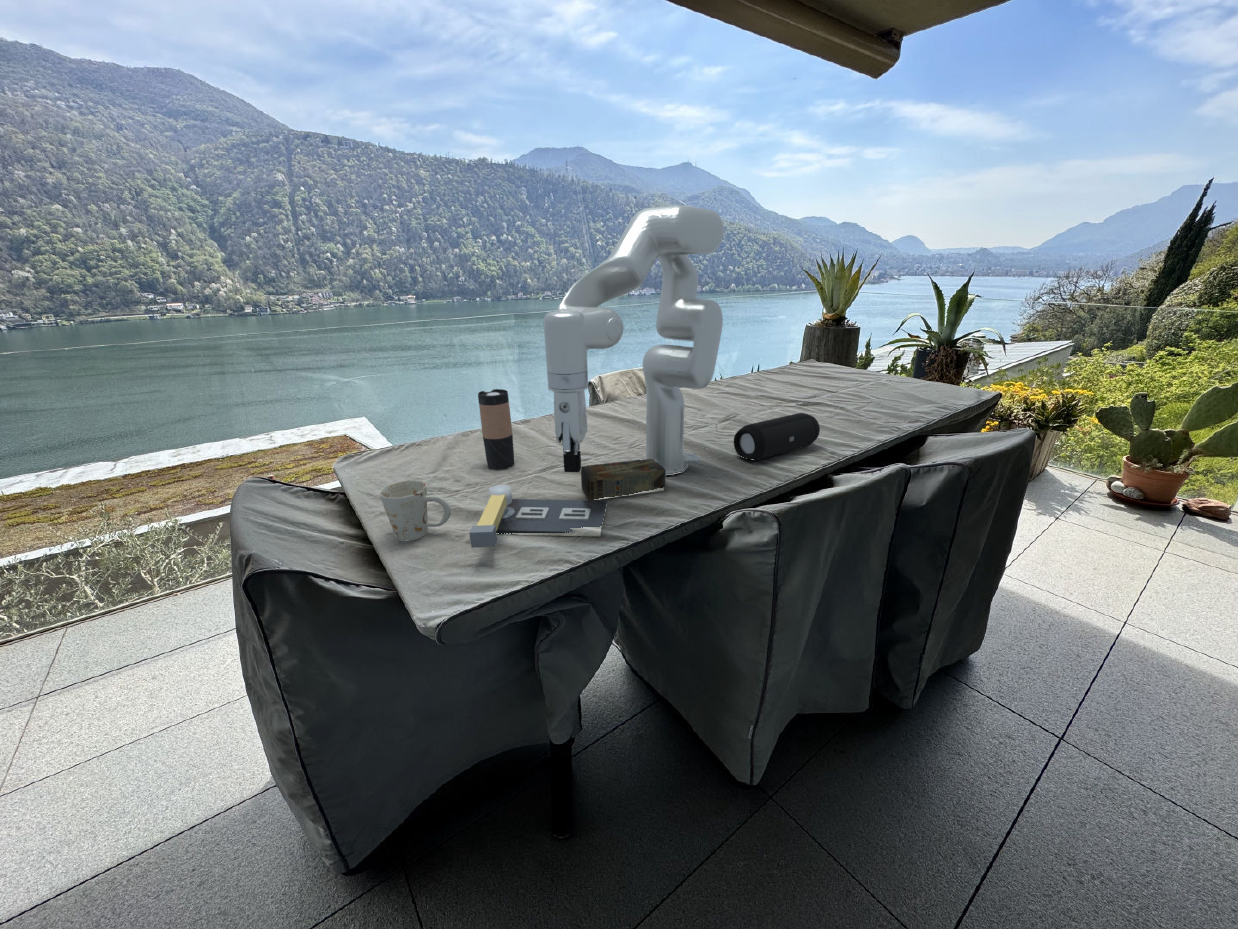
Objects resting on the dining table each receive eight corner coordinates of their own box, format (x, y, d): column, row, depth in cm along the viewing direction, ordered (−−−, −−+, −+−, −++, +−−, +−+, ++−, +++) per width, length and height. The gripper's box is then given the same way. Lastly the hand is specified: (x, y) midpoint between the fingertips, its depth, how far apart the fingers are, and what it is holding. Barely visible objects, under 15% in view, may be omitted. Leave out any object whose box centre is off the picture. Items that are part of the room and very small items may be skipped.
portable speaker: (756, 467, 126) (759, 431, 122) (729, 456, 133) (732, 422, 130) (819, 449, 138) (824, 415, 134) (792, 439, 146) (796, 408, 142)
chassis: (607, 504, 106) (606, 490, 105) (600, 537, 93) (599, 521, 92) (501, 502, 108) (499, 488, 107) (480, 534, 95) (478, 518, 94)
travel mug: (508, 471, 125) (500, 396, 118) (481, 469, 127) (471, 395, 119) (519, 460, 132) (512, 389, 125) (494, 458, 134) (485, 388, 126)
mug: (397, 524, 99) (388, 480, 95) (459, 521, 100) (452, 477, 96) (382, 545, 92) (372, 498, 88) (449, 542, 92) (441, 495, 89)
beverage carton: (666, 492, 112) (667, 466, 110) (587, 504, 107) (586, 477, 105) (654, 479, 120) (655, 454, 117) (579, 489, 115) (578, 464, 112)
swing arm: (495, 546, 84) (493, 531, 83) (470, 547, 84) (468, 532, 83) (513, 497, 102) (512, 484, 101) (493, 498, 102) (491, 484, 101)
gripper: (582, 389, 82) (586, 486, 89) (592, 372, 96) (595, 457, 103) (539, 389, 83) (546, 485, 90) (555, 372, 96) (561, 457, 103)
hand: (572, 470), depth 96 cm, fingers closed
